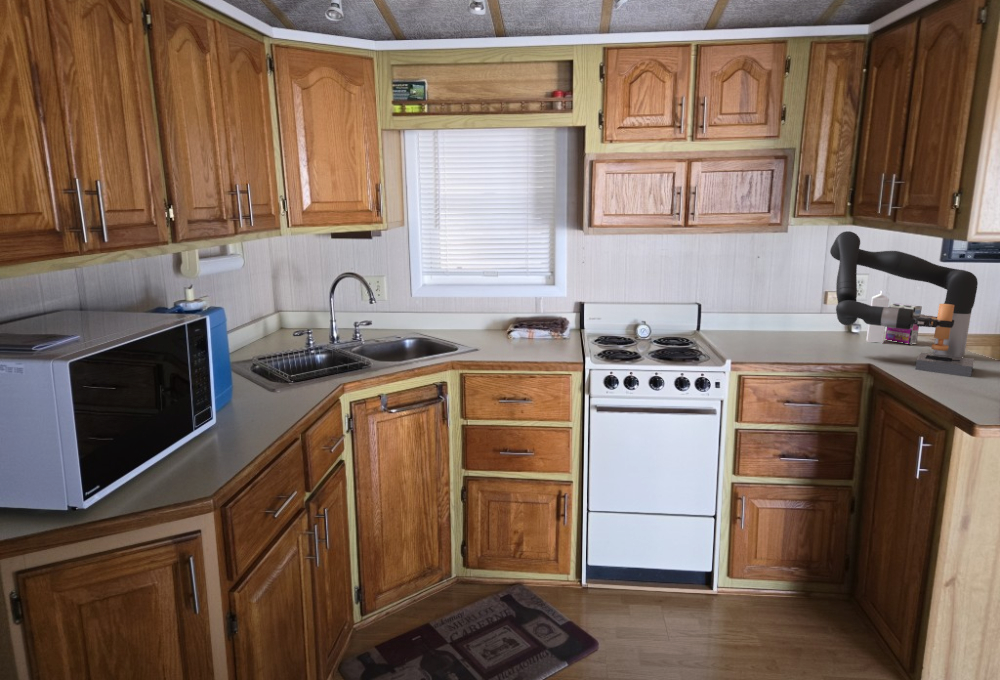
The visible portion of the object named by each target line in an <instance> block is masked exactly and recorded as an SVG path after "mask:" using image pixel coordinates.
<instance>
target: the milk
mask: <svg viewBox="0 0 1000 680" xmlns="http://www.w3.org/2000/svg"><path fill="white" fill-rule="evenodd" d="M879 292H880V293H879V294H876V295H873V296H871V301H870V306H878V307H889V304H890V303H889V302H890V299H889V297H887V296H885V295H884V294H883V291H882V290H880V291H879ZM885 332H886V327H885V326H878V325H870V324H867V332H866V338H865V339H866V342H867V343H871V342H880V343H879V344H882V343H883V344H884V341H885V339H884V338H885V334H886V333H885Z"/></svg>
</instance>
